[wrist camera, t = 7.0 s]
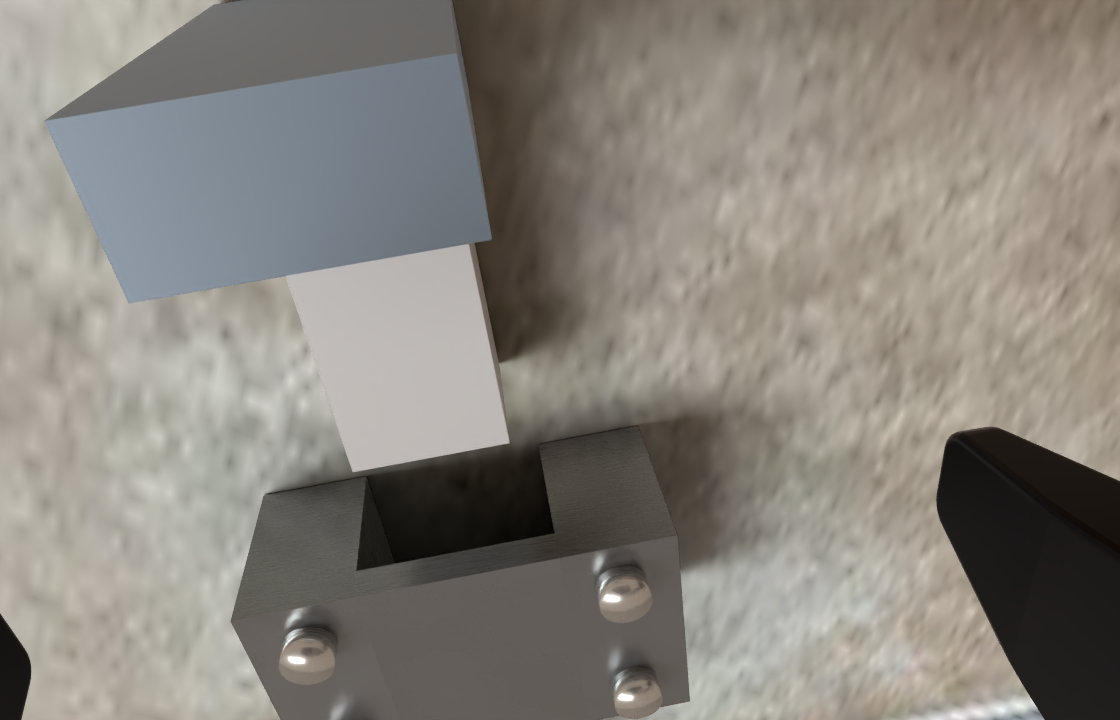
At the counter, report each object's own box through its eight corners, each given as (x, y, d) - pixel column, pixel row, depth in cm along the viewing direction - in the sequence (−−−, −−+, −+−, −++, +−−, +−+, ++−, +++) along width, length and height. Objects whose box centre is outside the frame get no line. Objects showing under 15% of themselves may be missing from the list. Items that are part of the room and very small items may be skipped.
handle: (446, -33, 16) (456, 52, 9) (519, 364, 20) (562, 615, 14) (213, 4, 15) (43, 120, 9) (342, 395, 20) (297, 667, 14)
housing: (638, 425, 22) (684, 554, 18) (653, 582, 25) (695, 721, 21) (263, 495, 22) (224, 643, 18) (327, 645, 25) (306, 800, 21)
